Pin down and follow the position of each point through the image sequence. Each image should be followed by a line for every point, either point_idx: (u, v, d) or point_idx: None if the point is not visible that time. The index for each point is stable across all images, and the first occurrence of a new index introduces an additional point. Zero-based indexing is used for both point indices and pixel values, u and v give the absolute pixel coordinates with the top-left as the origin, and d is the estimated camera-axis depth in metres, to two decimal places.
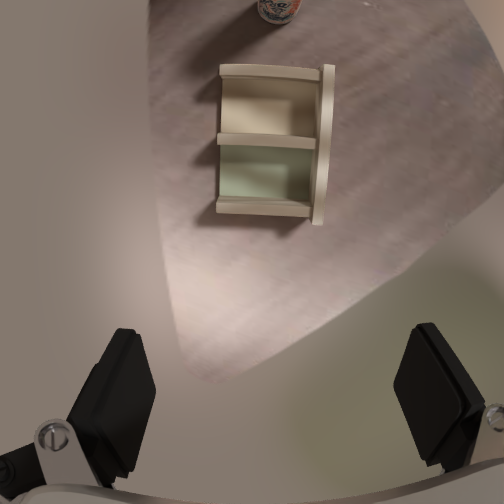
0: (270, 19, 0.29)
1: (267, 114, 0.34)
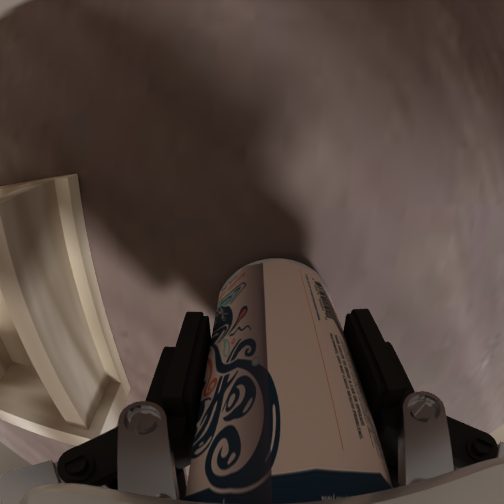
0: (217, 307, 0.12)
1: None
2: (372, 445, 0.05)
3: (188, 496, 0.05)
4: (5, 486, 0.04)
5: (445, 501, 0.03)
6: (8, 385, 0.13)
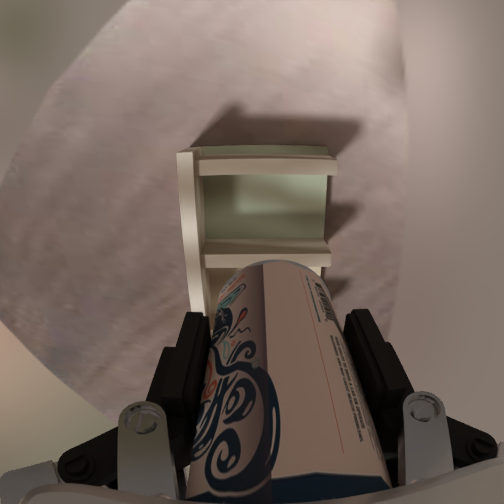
0: (217, 308, 0.12)
1: None
2: (372, 448, 0.05)
3: (188, 499, 0.05)
4: (5, 486, 0.04)
5: (445, 501, 0.03)
6: (204, 270, 0.28)
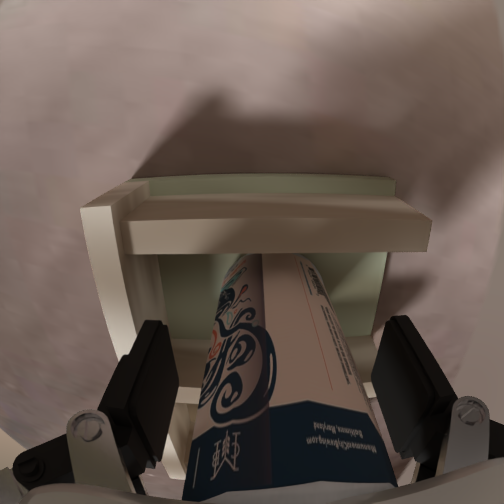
0: None
1: None
2: (359, 391, 0.06)
3: (194, 439, 0.06)
4: None
5: (445, 501, 0.03)
6: None
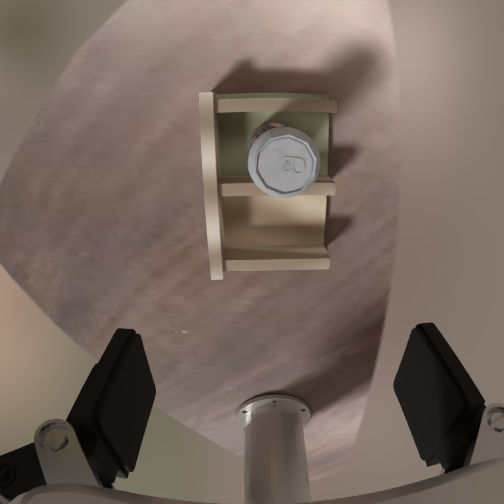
0: None
1: (276, 207, 0.33)
2: None
3: (251, 144, 0.21)
4: None
5: (445, 501, 0.03)
6: (220, 203, 0.31)
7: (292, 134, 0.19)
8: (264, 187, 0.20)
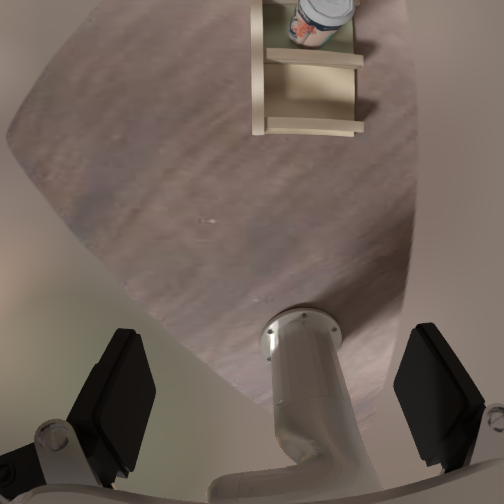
0: None
1: (310, 83, 0.32)
2: None
3: None
4: None
5: (445, 501, 0.03)
6: None
7: None
8: (314, 12, 0.19)
